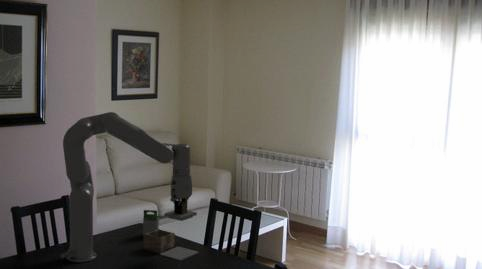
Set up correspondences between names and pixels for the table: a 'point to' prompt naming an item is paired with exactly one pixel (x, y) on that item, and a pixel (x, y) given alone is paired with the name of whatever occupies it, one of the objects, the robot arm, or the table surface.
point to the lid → (184, 213)
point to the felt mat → (179, 253)
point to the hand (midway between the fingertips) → (180, 212)
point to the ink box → (150, 221)
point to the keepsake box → (159, 241)
